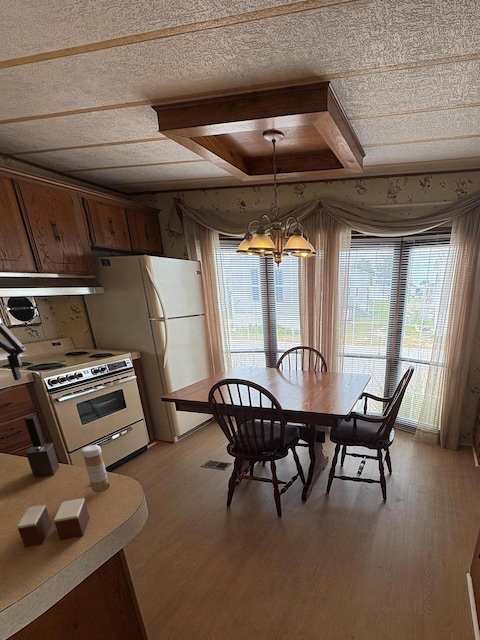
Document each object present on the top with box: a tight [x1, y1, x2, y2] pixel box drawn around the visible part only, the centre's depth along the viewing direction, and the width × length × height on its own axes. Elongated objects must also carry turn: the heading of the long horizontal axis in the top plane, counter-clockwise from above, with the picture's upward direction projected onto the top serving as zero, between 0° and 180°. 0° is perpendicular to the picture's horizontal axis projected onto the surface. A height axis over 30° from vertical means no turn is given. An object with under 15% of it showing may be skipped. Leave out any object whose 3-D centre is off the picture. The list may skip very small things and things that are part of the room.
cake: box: [53, 497, 90, 541], centre depth 84 cm, size 8×5×6 cm, turn 23°
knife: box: [24, 415, 45, 451], centre depth 103 cm, size 3×2×20 cm, turn 23°
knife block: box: [25, 442, 60, 479], centre depth 105 cm, size 6×5×10 cm
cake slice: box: [16, 503, 53, 548], centre depth 81 cm, size 8×3×6 cm, turn 23°
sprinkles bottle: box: [81, 444, 110, 492], centre depth 100 cm, size 5×5×14 cm
